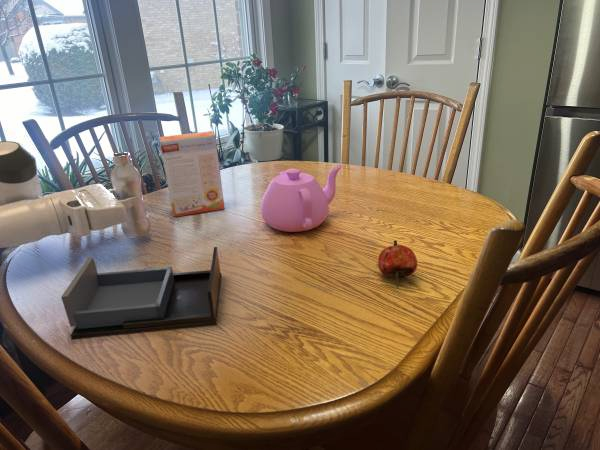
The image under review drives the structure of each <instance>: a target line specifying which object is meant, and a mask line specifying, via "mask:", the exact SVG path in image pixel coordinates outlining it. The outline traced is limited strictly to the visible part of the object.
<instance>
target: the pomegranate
mask: <svg viewBox="0 0 600 450" xmlns="http://www.w3.org/2000/svg"><path fill="white" fill-rule="evenodd" d="M392 242H393V245H389V246H387V247H385V248H384V249H382V250H381V252H380V253H379V254H378V260H377V267H378V269H379V272H380V273H381V274H382V275H383V277H386V278H394V277H395V279H396V289H397V290H398V289H399V281H400V280H399V277H400V278H405V277H406V278H407V277H410V276H411V275H412V274H413V273H414V272H416V271H417V268H418V258H417V256H416V254H415V252H414V251H413V249H411V248H410V247H408V246H405V245H402V244H398V241H397V240H396V239H395V240H393V241H392Z"/></svg>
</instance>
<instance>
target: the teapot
mask: <svg viewBox="0 0 600 450" xmlns="http://www.w3.org/2000/svg"><path fill="white" fill-rule="evenodd" d="M343 167H344V164H339V165H336V166H334V167H333V168H331V169H330V171H329V173H328V176H327V183H326V185H325V187H324V188H322V185H320V183H319V182H318V180H317V179H316V178H315V177H314V176H313V175H312V174H310V173H306V172H301V170H300V169H299V168H289V169H287V170H282V171H280V172H278V175H276V176H274V177H273V179H272V180H271V181H270V182H269V185H268V187H267V188H266V190H265V192H264V194H263V197H262V200H261V204H260V205H261V206H260V215H261V218H262V220H263V221H264V222H265V223H266V224H268V226H269V227H271V228H272V229H275V230H277V231H281V232H288V233H295V232H296V233H297V232H298V233H299V232H305V231H309V230H313V229H316V228H317V227H319V226H320V225H322V223H323V222H325V220H326V219H327V218H328V215H329V213H330V207H329V205H330V204H331V203H332V202H333V200H334V198H335V195H336V191H337V190H336V189H337V187H336V185H337V184H336V181H337V180H336V179H337V175H338V173H339V171H340V170H341V169H342V168H343Z"/></svg>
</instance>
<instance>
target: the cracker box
mask: <svg viewBox="0 0 600 450" xmlns="http://www.w3.org/2000/svg"><path fill="white" fill-rule="evenodd" d="M216 138H217V137H216V134H215V133H214V131H213V130H209V131H202V132H201V131H200V132H193V133H192V132H191V133H183V134H174V135H166V136H159V145H160V150H161V155H162V161H163V167H164V172H165V173H164V174H165V178H166V179H165V180H166V183H167V191H168V193H169V194H168V195H169V201H170V205H171V211H172V215H173V218H176V217H182V216H189V215H196V214H201V213H207V212H213V211H220V210H224V209H225V199H224V192H223V191H224V190H223V185H222V177H221V170H220V169H221V168H220V161H219V156H218V155H219V154H218V146H217V139H216Z"/></svg>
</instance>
